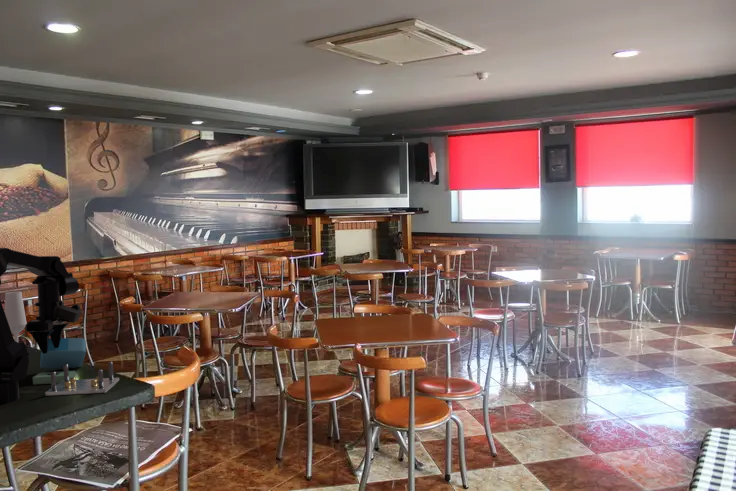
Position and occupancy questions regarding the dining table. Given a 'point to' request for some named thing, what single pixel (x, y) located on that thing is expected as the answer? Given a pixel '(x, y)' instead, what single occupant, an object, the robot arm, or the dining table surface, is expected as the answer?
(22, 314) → the champagne flute
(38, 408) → the dining table surface
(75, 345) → the data package
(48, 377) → the board
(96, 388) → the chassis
